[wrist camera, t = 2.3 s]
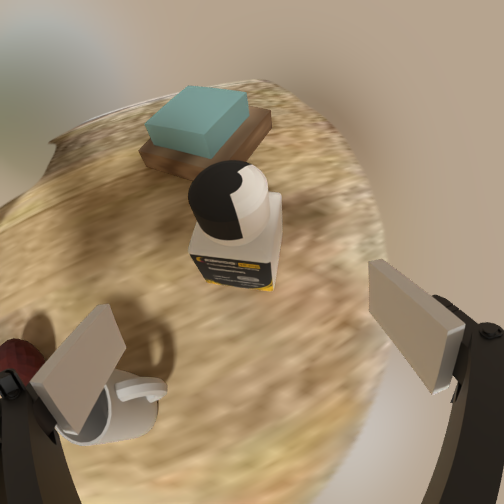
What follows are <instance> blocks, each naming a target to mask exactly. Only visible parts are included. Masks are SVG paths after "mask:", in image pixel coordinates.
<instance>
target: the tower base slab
mask: <svg viewBox="0 0 504 504" xmlns="http://www.w3.org/2000/svg"><path fill="white" fill-rule="evenodd" d="M248 108H249V117H248V118H247V119H246V120H245V121H244V122H243V123H242V124H241V125H240V126H239V128H238V129H237V130H236V131H235V132H234V133H233V134H232V136H231V137H230V138H229V139H228V140H227V141H226V142H225V144H224V145H223V146H222V147H221V148H220V149H219V151H218V152H217V153H216V154H215V155H214V157H213V158H212V159H208V158H205V157H201V156H197V155H193V154H189V153H185V152H181V151H177V150H173V149H169V148H165V147H160V146H156V145H154V144H153V142H152V140H151V138H150V139H149V140H148V141H147V142H146V143H145V144H144V145H143V146H142V147H141V148H140V149H139V150H138V151H139V153H140V155H141V157H142V159H143V161H144V163H145V165H146V167H149V168H153V169H156V170H159V171H163V172H166V173H169V174H172V175H176V176H179V177H182V178H185V179H188V180H191V181H194V179H195V178H196V176H197V175H198V174H199V173H200V172H201V171H203V170H204V169H205V168H207V167H209V166H210V165H213V164H215V163H218V162H221V161H227V160H239V161H244V162H246V161H247V160H248V158H249V157H250V156H251V154H252V153H253V152H254V151H255V149H256V148H257V147H258V145H259V144H260V143H261V141H262V140H263V139H264V138H265V136H266V135H267V134H268V132H269V131H270V130H271V129H272V121H271V110H268V109H263V108H258V107H253V106H248Z"/></svg>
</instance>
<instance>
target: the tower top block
mask: <svg viewBox="0 0 504 504" xmlns="http://www.w3.org/2000/svg"><path fill="white" fill-rule="evenodd" d="M248 117H249V108H248V101H247V93H246V92H240V91H233V90H226V89H218V88H209V87H198V86H187V87H186V88H185V89H184V90H182V91H181V92H180V93H179V94H177V95H176V96H175V97H174V98H173V99H171V100H170V101H169V102H168V103H167V104H166V105H165V106H163V107H162V108H161V109H160V110H159V111H158V112H157V113H156V114H154V115H153V116H152V117H151V118H150V119H149V120H148V121H147V122H146V123H145V126H146V129H147V131H148V133H149V135H150V138H151V140H152V142H153V144H154V145H156V146H160V147H165V148H169V149H173V150H177V151H181V152H185V153H189V154H193V155H197V156H201V157H205V158H208V159H212V158H213V157H214V155H215V154H216V153H217V152H218V151H219V149H220V148H221V147H222V146H223V145H224V144H225V142H226V141H227V140H228V139H229V138H230V137H231V136H232V134H233V133H234V132H235V131H236V130H237V129H238V128H239V126H240V125H241V124H242V123H243V122H244V121H245V120H246V119H247V118H248Z"/></svg>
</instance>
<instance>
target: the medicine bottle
mask: <svg viewBox="0 0 504 504" xmlns="http://www.w3.org/2000/svg"><path fill="white" fill-rule="evenodd" d="M188 200H189V204H190V206H191V209H192V211H193V213H194V215H195V217H196V220H197V222H196V225H195V228H194V231H193V234H192V237H191V240H190V244H189V247H188V253H189V254H190V256H191V258H192V259H193V261H194V263H195V264H196V266H197V267H198V269H199V271H200V272H201V274H202V275H203V277H204V278H205V280H206V282H208V283H211V284H218V285H225V286H233V287H240V288H247V289H255V290H262V291H273V290H274V287H275V280H276V274H277V268H278V261H279V255H280V248H281V241H282V235H283V228H282V196H281V194H280V193H278V192H268V184H267V180H266V177H265V175H264V174H263V173H262V171H261V170H260V169H258V168H257V167H256V166H254V165H252V164H250V163H247V162H244V161H239V160H227V161H221V162H218V163H215V164H213V165H210V166H209V167H207V168H205V169H204V170H203V171H201V172H200V173H199V174H198V175H197V176H196V178H195V179H194V181H193V182H192V184H191V186H190V189H189V193H188Z"/></svg>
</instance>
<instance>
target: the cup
mask: <svg viewBox="0 0 504 504" xmlns="http://www.w3.org/2000/svg"><path fill="white" fill-rule="evenodd" d="M166 394H167V384H166V383H165V382H164V381H163V380H162V379H160V378H156V377H139V376H138V375H135V374H132V373H130V372H127V371H123V370H119V369H115V368H114V370H113V372H112V374H111V375H110V377H109V379H108V381H107V382H106V384H105V386H104V388H103V390H102V391H101V393H100V395H99V397H98V399H97V401H96V402H95V404H94V406H93V408H92V410H91V412H90V414H89V415H88V417H87V419H86V421H85V423H84V425H83V427H82V429H81V431H80V433H79V435H74V434H69V433H65V432H64V431H63V430H62V428H61V427H60V426H59V424H58V423H57V424H56V426H55V428H56V430H57V431H58V432H59V433H60V434H61V435H62V436H63V437H64V438H65V439H67V440H68V441H70V442H71V443H74V444H77V445H80V446H88V445H97V444H104V443H111V442H117V441H123V440H128V439H134V438H138V437H140V436H142V435H144V434H146V433H147V432H148V431H150V430H151V429H152V427H153V425H154V423H155V422H156V418H157V414H158V408H157V400H159V399H161V398H162V397H163V396H165V395H166Z"/></svg>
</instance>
